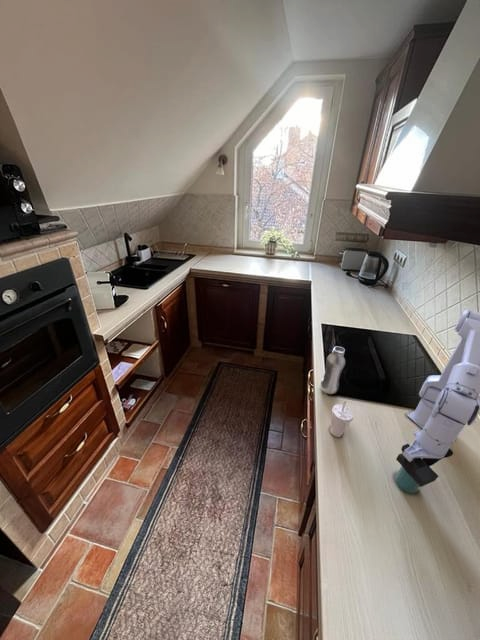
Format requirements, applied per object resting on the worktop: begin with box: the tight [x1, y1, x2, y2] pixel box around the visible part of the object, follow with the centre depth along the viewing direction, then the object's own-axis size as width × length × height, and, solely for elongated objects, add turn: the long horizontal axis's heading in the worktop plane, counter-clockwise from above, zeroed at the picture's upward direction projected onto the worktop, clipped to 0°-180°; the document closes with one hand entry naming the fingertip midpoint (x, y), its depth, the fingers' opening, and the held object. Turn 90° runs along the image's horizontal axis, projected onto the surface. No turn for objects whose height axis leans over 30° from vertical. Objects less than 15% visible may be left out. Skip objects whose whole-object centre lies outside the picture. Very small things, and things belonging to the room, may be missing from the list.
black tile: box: [395, 452, 439, 488], centre depth 66 cm, size 8×5×2 cm, turn 19°
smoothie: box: [329, 399, 355, 438], centre depth 80 cm, size 6×6×14 cm
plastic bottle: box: [320, 345, 346, 395], centre depth 95 cm, size 6×7×20 cm
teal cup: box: [394, 465, 421, 495], centre depth 68 cm, size 5×5×6 cm
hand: (416, 466), depth 66 cm, fingers open, 6 cm apart
